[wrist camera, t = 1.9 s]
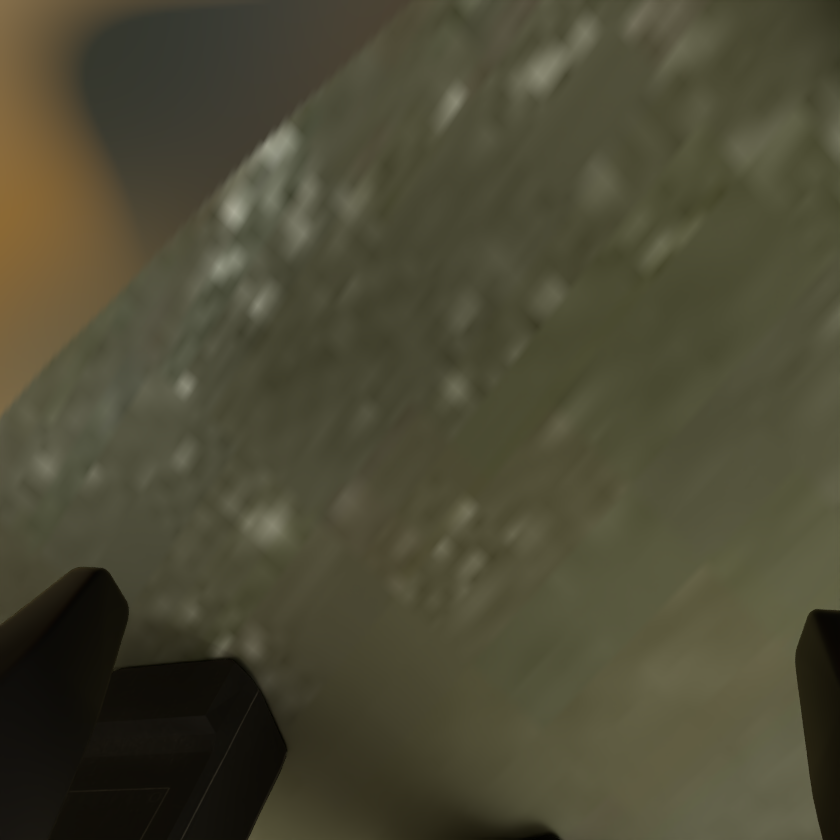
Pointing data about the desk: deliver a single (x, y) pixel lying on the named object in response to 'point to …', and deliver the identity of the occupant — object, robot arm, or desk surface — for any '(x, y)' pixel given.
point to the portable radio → (175, 757)
